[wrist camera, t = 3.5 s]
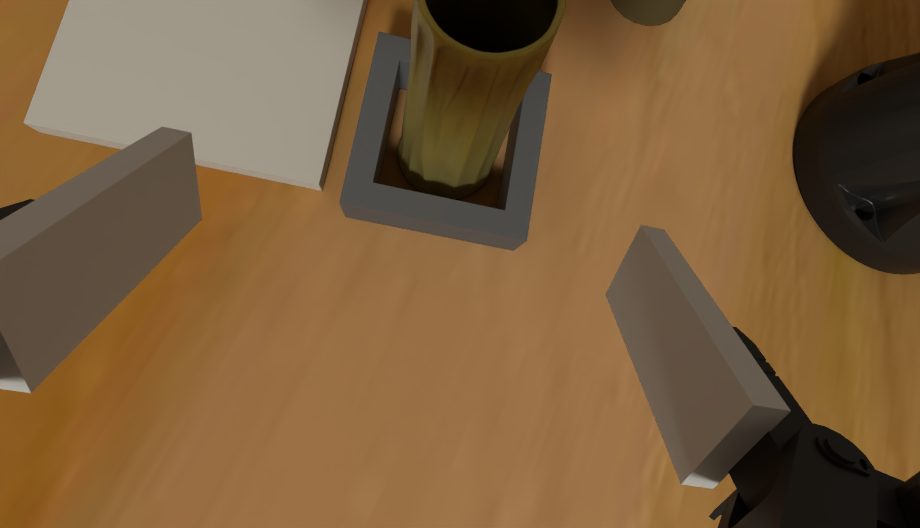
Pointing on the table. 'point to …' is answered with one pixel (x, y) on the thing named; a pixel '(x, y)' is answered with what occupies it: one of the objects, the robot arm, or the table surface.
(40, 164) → the table surface
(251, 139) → the board
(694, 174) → the table surface
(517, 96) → the vase
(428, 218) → the collar
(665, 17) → the olive brown pawn
